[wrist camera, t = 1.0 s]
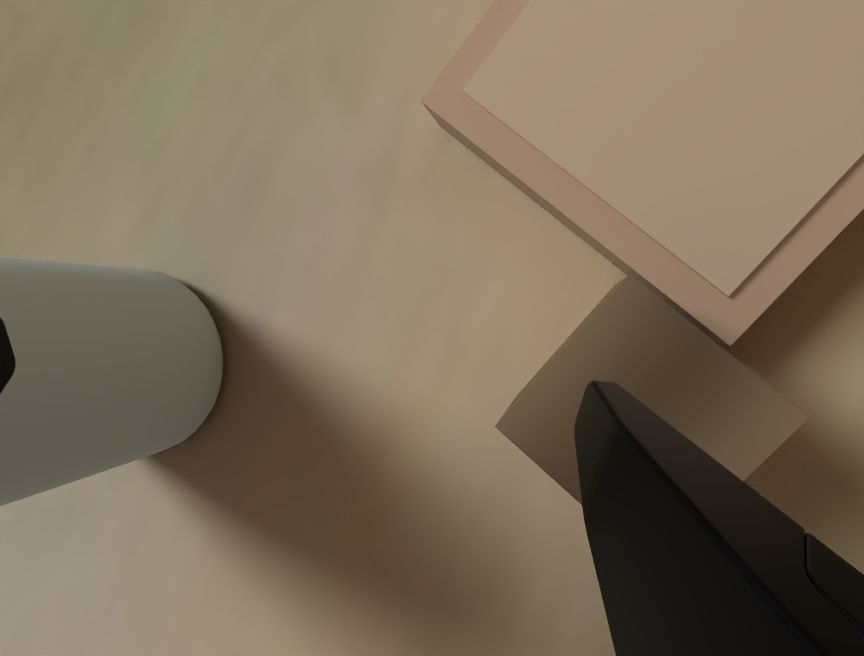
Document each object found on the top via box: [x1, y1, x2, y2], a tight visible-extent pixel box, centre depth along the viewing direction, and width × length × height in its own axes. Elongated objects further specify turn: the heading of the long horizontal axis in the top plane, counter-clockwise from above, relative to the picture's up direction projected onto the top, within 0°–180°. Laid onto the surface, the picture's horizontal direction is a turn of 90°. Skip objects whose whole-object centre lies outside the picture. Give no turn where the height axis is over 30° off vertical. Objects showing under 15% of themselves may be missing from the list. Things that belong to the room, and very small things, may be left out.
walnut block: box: [495, 275, 810, 505], centre depth 16 cm, size 5×5×6 cm
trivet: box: [421, 0, 864, 346], centre depth 17 cm, size 12×12×3 cm
